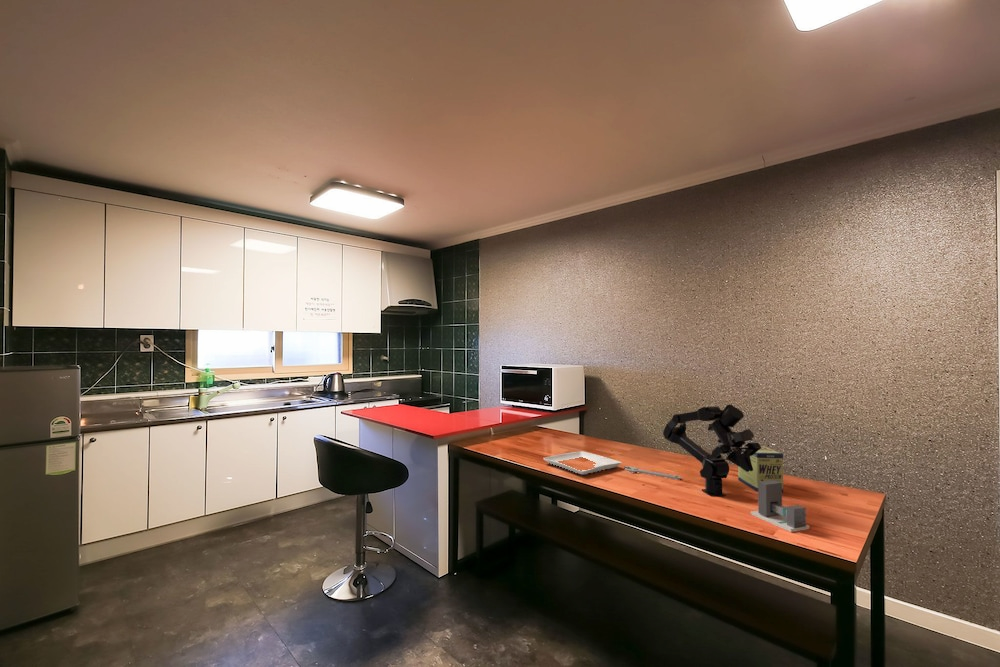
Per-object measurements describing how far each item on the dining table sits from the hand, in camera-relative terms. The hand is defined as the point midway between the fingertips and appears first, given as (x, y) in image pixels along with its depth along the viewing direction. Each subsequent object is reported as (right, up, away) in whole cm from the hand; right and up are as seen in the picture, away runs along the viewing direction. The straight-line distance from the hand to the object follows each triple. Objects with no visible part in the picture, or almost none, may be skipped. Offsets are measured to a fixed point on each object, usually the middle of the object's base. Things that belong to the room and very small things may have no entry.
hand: (750, 471), depth 150 cm
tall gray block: (+2, -12, -8) cm, 14 cm away
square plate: (-51, -15, +52) cm, 74 cm away
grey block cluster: (+3, -12, -11) cm, 17 cm away
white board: (+3, -13, -11) cm, 17 cm away
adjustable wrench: (-22, -15, +39) cm, 47 cm away
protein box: (+19, -15, +25) cm, 35 cm away
